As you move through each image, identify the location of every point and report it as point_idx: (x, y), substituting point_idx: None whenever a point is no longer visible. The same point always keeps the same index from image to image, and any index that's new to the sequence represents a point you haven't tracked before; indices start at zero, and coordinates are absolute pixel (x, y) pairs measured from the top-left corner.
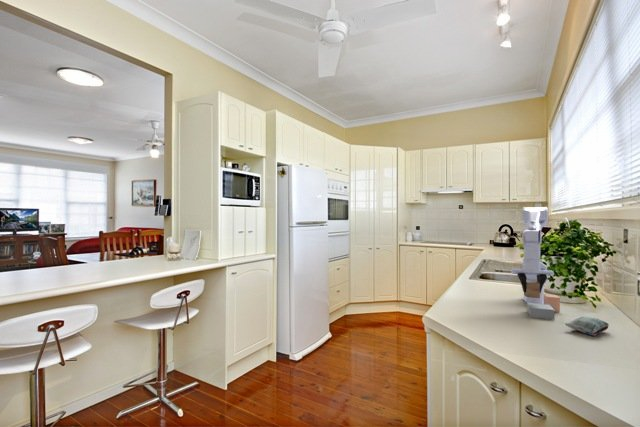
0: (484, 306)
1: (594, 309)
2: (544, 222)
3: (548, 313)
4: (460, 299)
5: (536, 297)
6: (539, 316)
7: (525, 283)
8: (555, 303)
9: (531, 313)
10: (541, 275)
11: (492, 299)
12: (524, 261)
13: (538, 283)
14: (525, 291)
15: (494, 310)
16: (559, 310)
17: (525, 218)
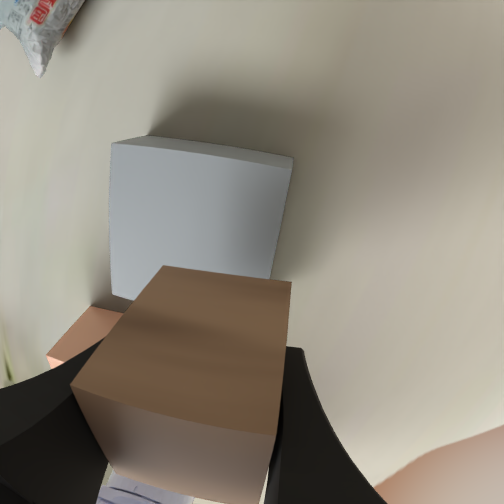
0: (476, 338)
1: (3, 346)
2: None
3: (164, 143)
4: (500, 411)
5: (192, 271)
6: (231, 148)
7: (293, 432)
8: (83, 337)
9: (284, 160)
10: (6, 492)
11: (356, 450)
12: None
13: (88, 387)
14: (291, 350)
15: (470, 270)
16: (86, 310)
17: None
